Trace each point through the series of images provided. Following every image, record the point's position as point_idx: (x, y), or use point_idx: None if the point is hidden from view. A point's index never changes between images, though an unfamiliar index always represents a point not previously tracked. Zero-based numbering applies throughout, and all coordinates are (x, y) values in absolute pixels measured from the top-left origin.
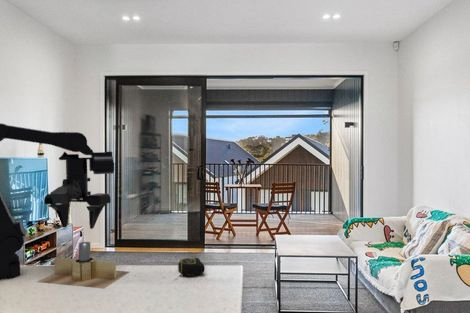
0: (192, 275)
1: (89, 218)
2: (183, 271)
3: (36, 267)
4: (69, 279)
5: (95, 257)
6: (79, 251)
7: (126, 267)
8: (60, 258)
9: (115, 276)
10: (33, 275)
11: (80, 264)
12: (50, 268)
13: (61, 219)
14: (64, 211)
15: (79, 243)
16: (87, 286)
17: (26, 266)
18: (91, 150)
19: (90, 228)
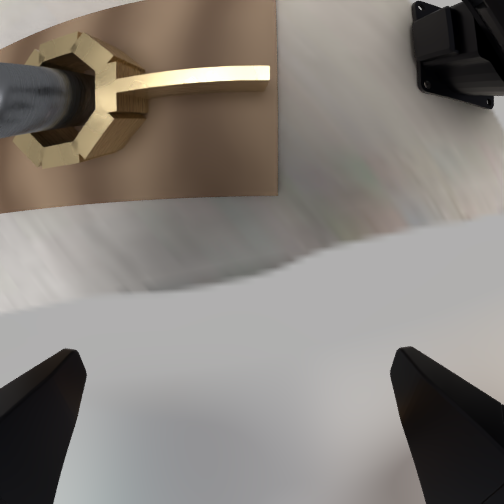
0: None
1: (6, 411)
2: None
3: (442, 199)
4: (139, 50)
5: (33, 159)
6: (30, 65)
7: (63, 280)
8: (217, 67)
9: None
10: (389, 101)
11: (41, 47)
12: (380, 197)
13: (459, 394)
14: (468, 498)
15: (4, 73)
16: (33, 36)
17: (479, 203)
18: None
19: (71, 350)
